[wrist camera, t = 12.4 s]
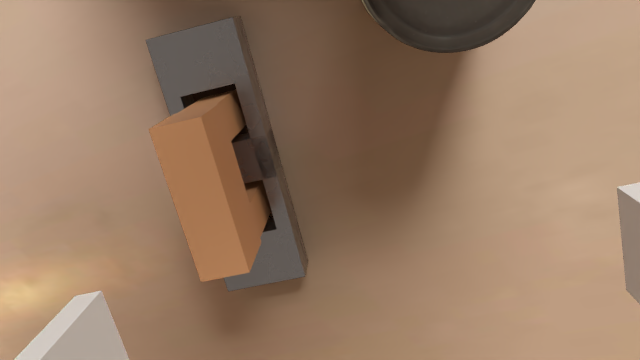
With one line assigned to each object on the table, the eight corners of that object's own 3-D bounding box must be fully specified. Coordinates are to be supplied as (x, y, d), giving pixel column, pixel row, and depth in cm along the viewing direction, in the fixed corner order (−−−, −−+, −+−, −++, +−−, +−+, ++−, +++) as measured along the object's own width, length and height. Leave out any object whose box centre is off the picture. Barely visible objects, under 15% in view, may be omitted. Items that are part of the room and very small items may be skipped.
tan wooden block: (199, 98, 46) (148, 129, 34) (239, 88, 45) (200, 116, 34) (236, 217, 49) (201, 282, 37) (274, 209, 48) (249, 272, 37)
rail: (158, 37, 44) (145, 40, 42) (240, 16, 44) (232, 17, 41) (235, 275, 51) (228, 291, 48) (307, 260, 50) (305, 276, 47)
